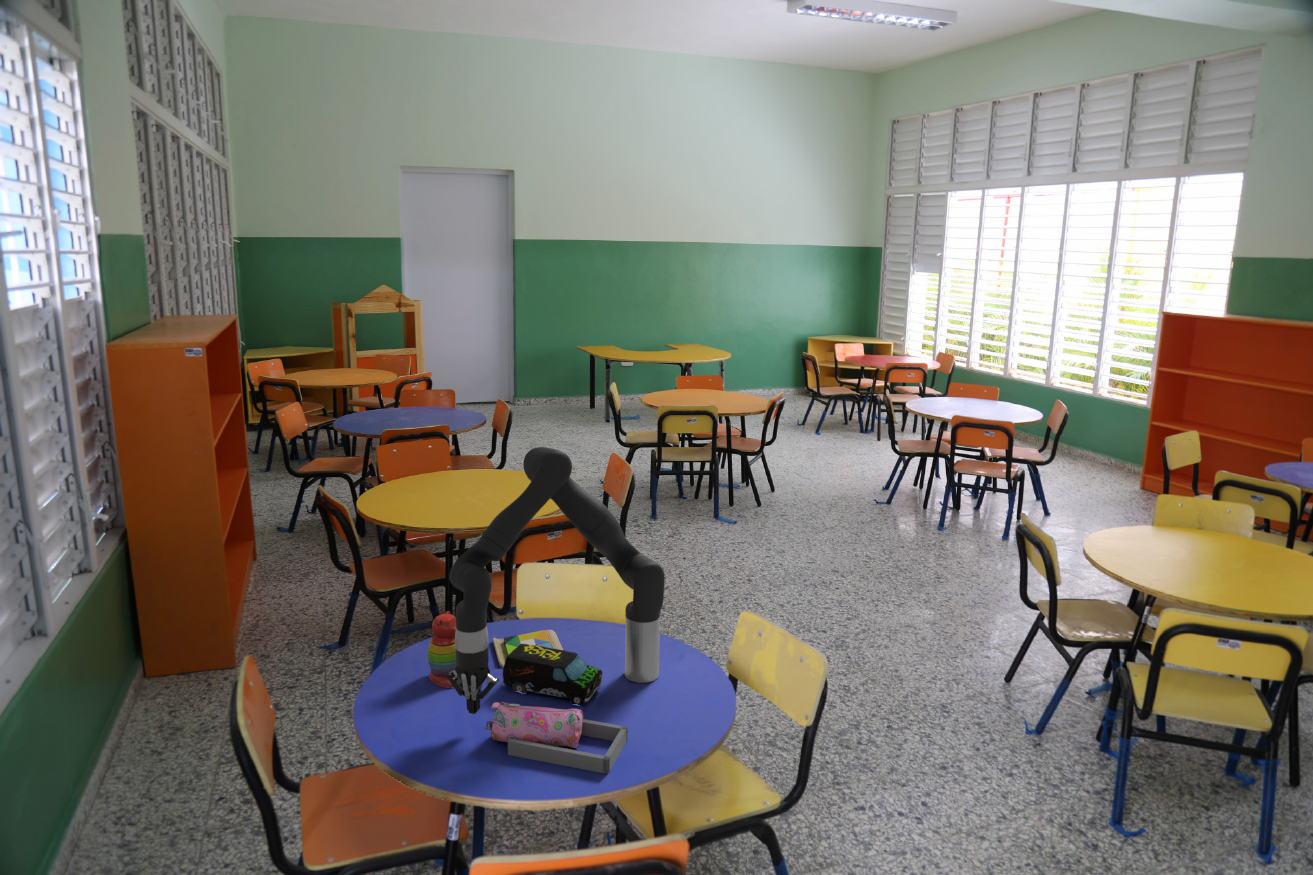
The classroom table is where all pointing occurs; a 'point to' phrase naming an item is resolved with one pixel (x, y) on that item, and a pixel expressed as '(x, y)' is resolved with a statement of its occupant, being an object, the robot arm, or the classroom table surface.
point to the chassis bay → (572, 756)
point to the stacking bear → (442, 649)
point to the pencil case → (536, 724)
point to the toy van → (551, 673)
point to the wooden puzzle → (535, 638)
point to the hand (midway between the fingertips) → (473, 711)
